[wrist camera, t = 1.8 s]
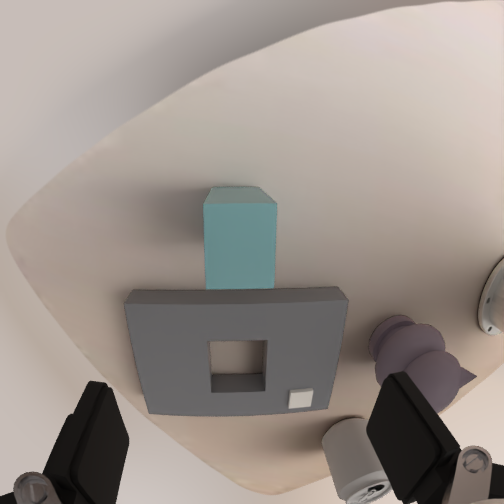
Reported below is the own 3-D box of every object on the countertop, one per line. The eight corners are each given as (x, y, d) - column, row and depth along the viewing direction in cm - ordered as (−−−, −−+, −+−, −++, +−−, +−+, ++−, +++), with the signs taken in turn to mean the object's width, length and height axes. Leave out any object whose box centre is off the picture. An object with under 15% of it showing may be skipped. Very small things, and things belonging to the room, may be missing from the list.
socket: (338, 286, 30) (350, 302, 26) (321, 392, 34) (328, 411, 30) (132, 289, 28) (122, 306, 25) (153, 396, 32) (148, 416, 29)
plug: (259, 186, 26) (276, 203, 17) (258, 242, 28) (274, 288, 18) (212, 187, 26) (203, 203, 16) (213, 243, 28) (206, 289, 18)
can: (378, 422, 37) (409, 482, 26) (341, 450, 38) (363, 511, 27) (349, 407, 35) (380, 477, 24) (309, 438, 37) (328, 507, 25)
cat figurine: (402, 293, 31) (466, 352, 19) (431, 327, 33) (487, 383, 21) (347, 348, 32) (390, 423, 21) (383, 375, 34) (425, 442, 23)
